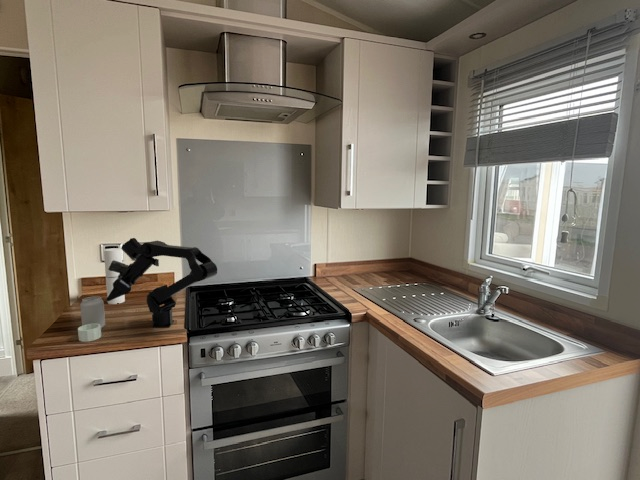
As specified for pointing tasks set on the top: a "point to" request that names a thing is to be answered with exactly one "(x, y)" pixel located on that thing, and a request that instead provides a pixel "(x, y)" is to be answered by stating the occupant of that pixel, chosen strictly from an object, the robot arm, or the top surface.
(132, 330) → the top surface
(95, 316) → the can
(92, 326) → the bowl
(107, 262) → the cylindrical container
